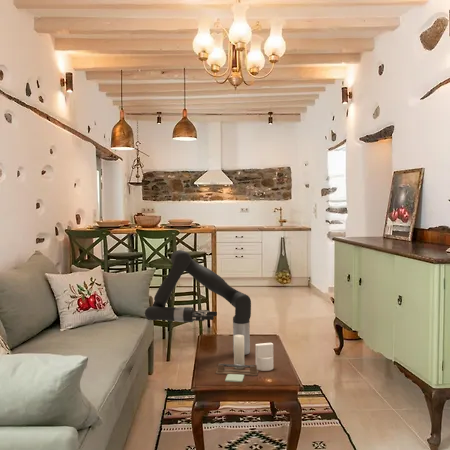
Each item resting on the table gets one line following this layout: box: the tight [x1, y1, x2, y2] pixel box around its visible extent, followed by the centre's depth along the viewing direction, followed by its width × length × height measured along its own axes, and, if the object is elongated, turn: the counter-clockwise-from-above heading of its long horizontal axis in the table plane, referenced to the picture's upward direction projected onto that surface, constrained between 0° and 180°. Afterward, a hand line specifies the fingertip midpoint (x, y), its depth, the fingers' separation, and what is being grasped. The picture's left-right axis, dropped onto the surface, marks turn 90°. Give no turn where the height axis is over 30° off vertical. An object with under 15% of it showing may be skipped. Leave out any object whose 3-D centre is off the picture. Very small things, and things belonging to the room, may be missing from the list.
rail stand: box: [215, 362, 259, 377], centre depth 224 cm, size 5×20×4 cm, turn 81°
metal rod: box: [219, 363, 255, 369], centre depth 224 cm, size 1×18×1 cm, turn 81°
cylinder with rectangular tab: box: [254, 342, 274, 372], centre depth 231 cm, size 9×9×12 cm
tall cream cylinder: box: [233, 335, 245, 370], centre depth 232 cm, size 5×5×16 cm
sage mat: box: [224, 374, 245, 383], centre depth 217 cm, size 8×8×1 cm
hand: (215, 315), depth 233 cm, fingers open, 8 cm apart
